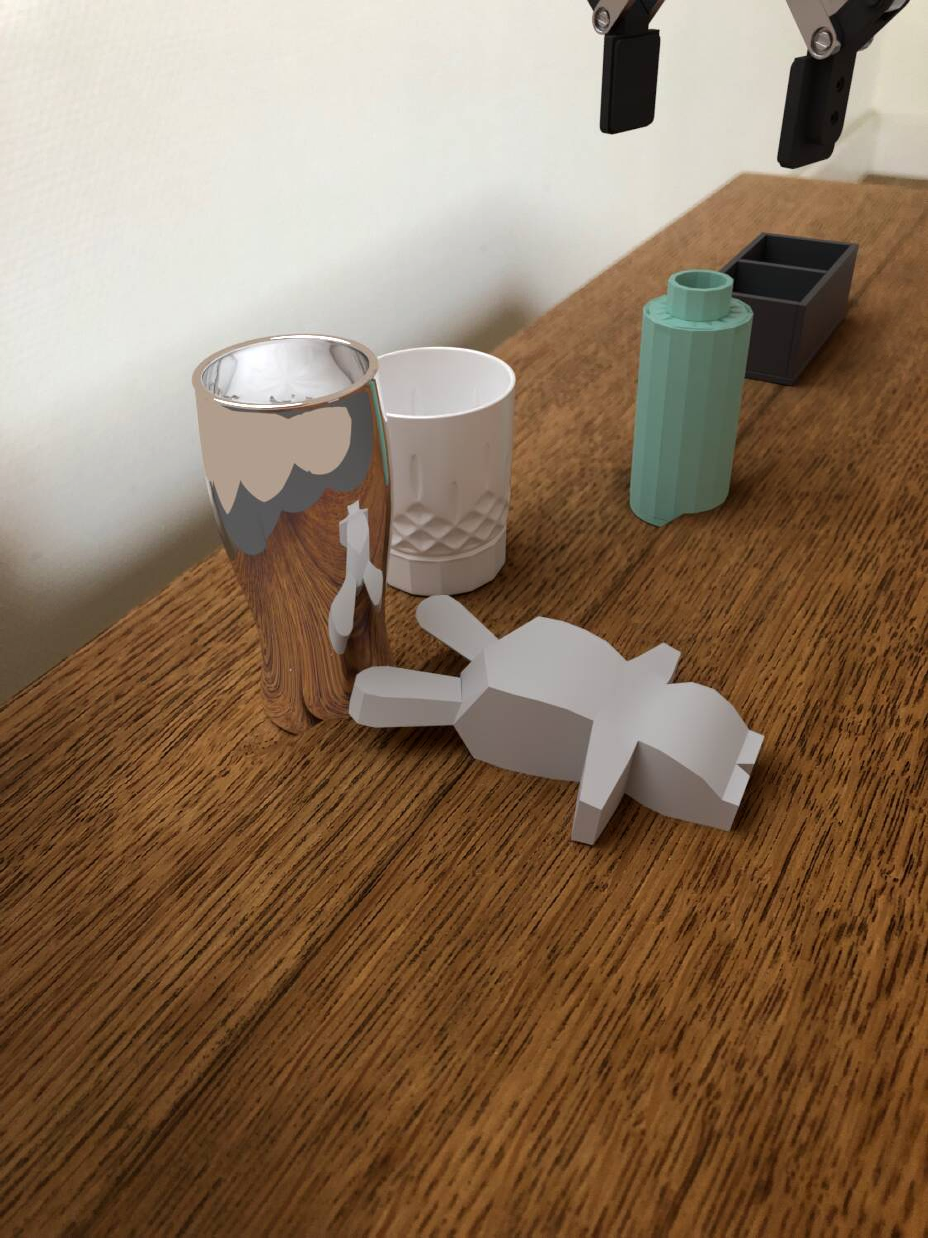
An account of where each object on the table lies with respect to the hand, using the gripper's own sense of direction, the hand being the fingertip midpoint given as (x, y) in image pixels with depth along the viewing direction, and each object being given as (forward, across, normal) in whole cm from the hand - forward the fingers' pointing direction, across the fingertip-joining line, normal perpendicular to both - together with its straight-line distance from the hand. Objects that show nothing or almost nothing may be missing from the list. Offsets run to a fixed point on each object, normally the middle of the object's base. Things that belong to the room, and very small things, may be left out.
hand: (709, 144), depth 45 cm
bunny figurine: (+19, -9, +18) cm, 28 cm away
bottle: (+18, 0, -1) cm, 19 cm away
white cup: (+19, +5, +12) cm, 23 cm away
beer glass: (+19, 0, +23) cm, 30 cm away
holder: (+18, +10, -24) cm, 31 cm away
